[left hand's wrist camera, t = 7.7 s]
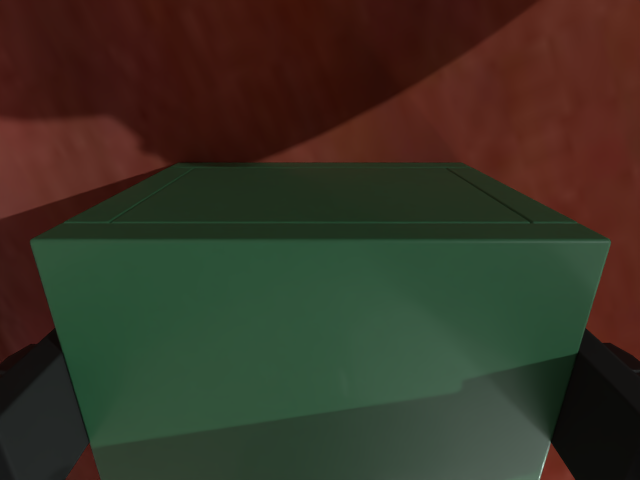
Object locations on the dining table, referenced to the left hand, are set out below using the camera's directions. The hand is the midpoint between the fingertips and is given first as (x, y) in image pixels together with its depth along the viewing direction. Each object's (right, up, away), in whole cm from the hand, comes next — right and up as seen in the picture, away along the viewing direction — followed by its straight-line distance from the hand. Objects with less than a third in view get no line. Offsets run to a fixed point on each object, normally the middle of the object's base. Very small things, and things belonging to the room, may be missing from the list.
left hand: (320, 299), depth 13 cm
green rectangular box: (0, -4, +6) cm, 7 cm away
